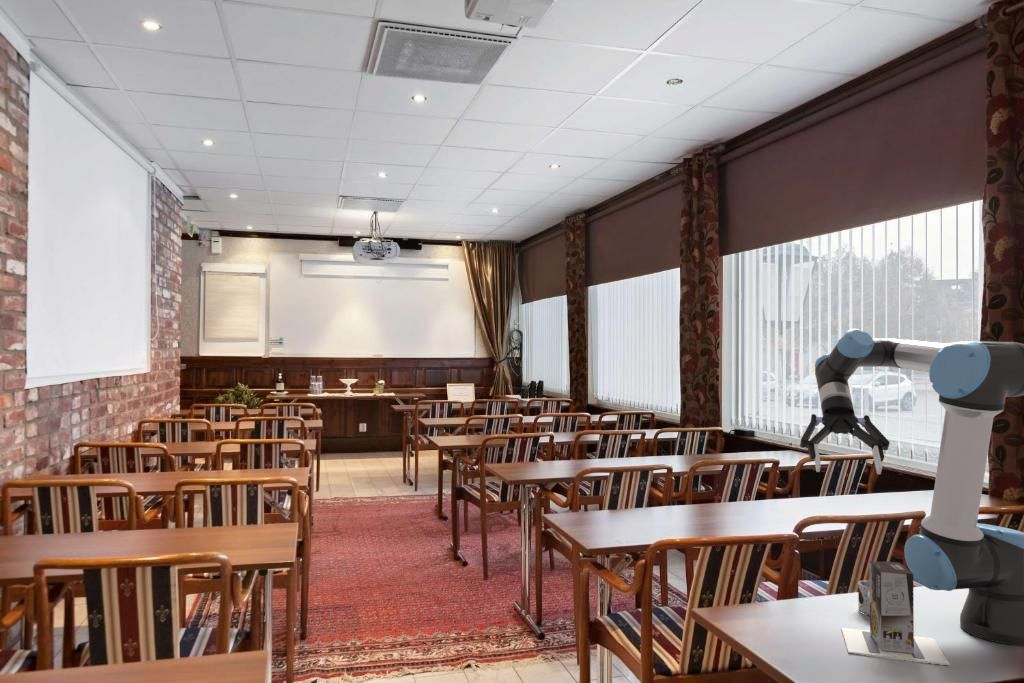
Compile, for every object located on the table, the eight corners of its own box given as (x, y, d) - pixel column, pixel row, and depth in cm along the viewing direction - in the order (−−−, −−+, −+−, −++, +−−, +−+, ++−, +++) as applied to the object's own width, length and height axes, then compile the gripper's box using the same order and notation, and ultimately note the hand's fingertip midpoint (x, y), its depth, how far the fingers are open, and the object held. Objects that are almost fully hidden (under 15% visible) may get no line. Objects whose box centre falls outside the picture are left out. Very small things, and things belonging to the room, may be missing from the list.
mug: (861, 606, 175) (860, 578, 176) (891, 611, 172) (891, 583, 172) (853, 617, 167) (853, 589, 167) (885, 624, 163) (885, 594, 164)
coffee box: (915, 654, 145) (914, 573, 146) (880, 651, 147) (880, 571, 147) (901, 637, 154) (900, 561, 155) (869, 634, 156) (868, 559, 156)
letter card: (933, 640, 154) (933, 637, 154) (949, 666, 141) (949, 663, 141) (841, 629, 160) (841, 627, 160) (848, 653, 147) (848, 651, 147)
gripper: (886, 414, 187) (903, 481, 172) (784, 412, 193) (792, 476, 178) (891, 394, 182) (909, 462, 167) (786, 393, 188) (795, 458, 173)
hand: (848, 469), depth 173 cm, fingers open, 13 cm apart
